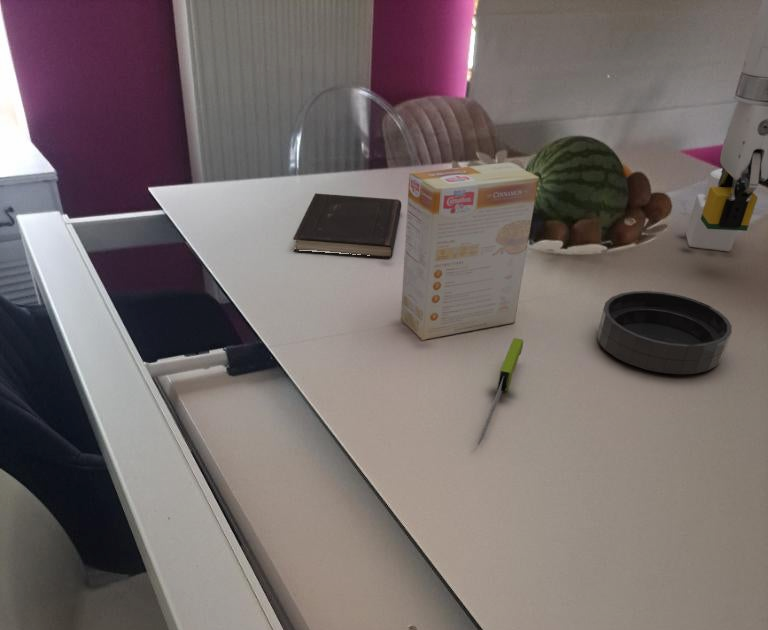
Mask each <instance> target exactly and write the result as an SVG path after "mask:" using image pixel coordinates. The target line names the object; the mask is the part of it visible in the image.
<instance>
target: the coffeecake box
mask: <svg viewBox="0 0 768 630" xmlns="http://www.w3.org/2000/svg"><path fill="white" fill-rule="evenodd" d="M539 179H540V177H539V176H538V175H536V174H534V173H532V172H530V171H527V170H526V169H524V168H522V167H521V166H520V165H518V164H516V163H513V162H510V161H509V162H499V163H490V164H480V165H471V166H462V167H451V168H441V169H432V170H421V171H411V172H409V177H408V192H407V207H406V208H407V209H406V225H405V240H404V241H405V243H404V257H403V272H402V273H403V274H402V276H403V277H402V292H401V308H400V321H402V322H403V324H404V325H406V326H407V327H408V328H409V329H411V330H412V331H413V332H414V334H415V335H416V336H417V337H418V338H419V339H420V340H421V341H424V340H428V339H429V340H430V339H434V338H439V337H445V336H450V335H455V334H462V333H466V332H472V331H476V330H477V331H478V330H482V329H488V328H493V327H498V326H504V325H509V324H514V323H515V322H516V316H517V312H518V311H517V310H518V305H519V298H520V294H521V287H522V281H523V275H524V269H525V264H526V258H527V257H526V256H527V251H528V246H529V239H530V233H531V227H532V222H533V221H532V220H533V216H534V215H533V214H534V209H535V201H536V198H537V192H538V191H537V190H538V184H539Z"/></svg>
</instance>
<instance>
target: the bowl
mask: <svg viewBox="0 0 768 630" xmlns="http://www.w3.org/2000/svg"><path fill="white" fill-rule="evenodd" d="M597 328H598V329H597V333H596V337H597V340H598V343H599V344H600V346H601V347H602V348H603V349H604V351H606V352H607V353H609V354H610V355H612V356H613V357H614V358H616V359H618V360H620V361H621V362H623V363H626V364H628V365H631V366H634V367H635V368H639V369H642V370H646V371H650V372H654V373H661V374H668V375H669V374H671V375H694V374H700V373H703V372H707V371H710V370H712V369H714V368H715V367H717V366H718V365H719V363H720V362H721V361H722V360H723V357H724V354H725V352H726V348H727V346H728V344H729V341H730V338H731V336H732V330H733V327H732V324H731V322H730V320H729V319H728V317H726V315H724V314H723V313H722V312H720V311H719V310H718V309H716V308H714V307H713V306H711V305H708V304H707V303H705V302H701V301H699V300H697V299H693V298H690V297H687V296H683V295H680V294H676V293H669V292H665V291H650V290H637V291H629V292H622V293H619V294H616V295H614V296H611V297H610V298H609V299H607V301H605V303H604V306H603V309H602V313H601V318H600V321H599V325H598V327H597Z"/></svg>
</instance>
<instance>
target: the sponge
mask: <svg viewBox="0 0 768 630" xmlns="http://www.w3.org/2000/svg"><path fill="white" fill-rule="evenodd" d="M737 190H738V189H737ZM730 192H731V188H729V187H710V188H709V192H708V195H707V199H706V202H705V206H704V209H703V213H702V216H701V220H702V222H703V223H704V225H705V226H706V228H707V229H720V230H738V231H741V232H742V231H743V232H747V231H748V228H749V224H750V222H751V220H752V216H753V213H754V209H755V207H756V204H757V201H758V196H757V195H756V194H755V193H754V192H753V193H752V195H751V199H750V201H749V202H748V205H747V208H746V212H745V215H744V218H743V221H742V224H741V226H740V227H739V228H728V227H720V226H719V221H720V218H721V215H722V211H723V208H724V205H725V201H726V199H729V196H730Z"/></svg>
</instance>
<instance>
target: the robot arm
mask: <svg viewBox="0 0 768 630" xmlns="http://www.w3.org/2000/svg"><path fill="white" fill-rule="evenodd" d="M738 78H739V79H738V82H737V86H736V88H735V93H734V96H733V99H734V100H735V101H737V102H736V105H735V108H734V111H733V113H732V116H731V119H730V121H729V125H728V128H727V131H726V134H725V138H724V141H723V145H722V147H721V152H720V157H719V163H720V166H721V167H722V168H721V169H722V171H721V173H722V174H721V177H720V180H719V182H718V187H729V188H731V192H730V196H729V199H726V201H725V205H724V208H723V211H722V215H721V218H720V221H719V226H720V227H728V228H739V227H740V226H741V224H742V221H743V218H744V215H745V212H746V208H747V205H748V202H749V201H750V199H751V195H752V193H754V192H755V191H756V190H757V189H758V187H759V181H761V182H765V181H767V180H768V0H761V2H760V5H759V8H758V12H757V16H756V19H755V23H754V26H753V30H752V33H751V35H750V41H749V43H748V46H747V51H746V54H745V58H744V61H743V65H742V69H741V72H740V75H739V77H738ZM743 174H745V175H746V176H747V178H741V177H742V175H743ZM739 183H745V185H741V186H740V187H739V188H738V185H739ZM737 189H738V190H737Z"/></svg>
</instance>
